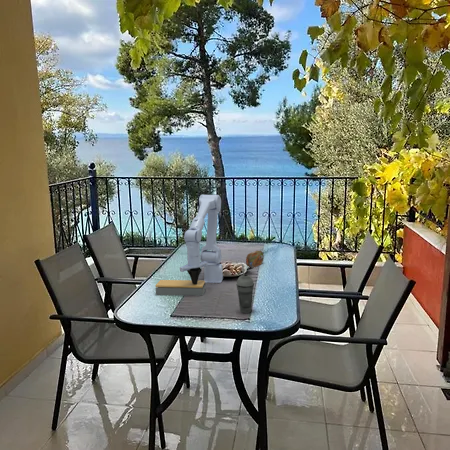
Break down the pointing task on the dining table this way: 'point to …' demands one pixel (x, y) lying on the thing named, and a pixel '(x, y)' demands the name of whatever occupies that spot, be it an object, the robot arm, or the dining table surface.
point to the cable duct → (180, 291)
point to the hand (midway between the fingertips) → (194, 283)
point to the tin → (254, 259)
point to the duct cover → (180, 283)
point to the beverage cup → (245, 292)
